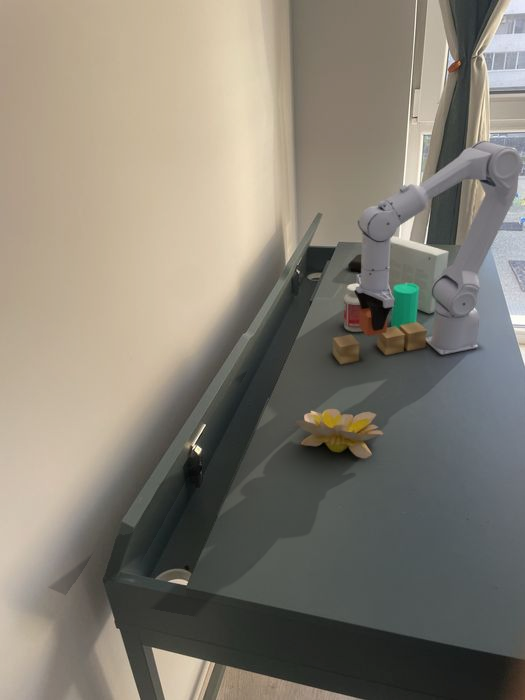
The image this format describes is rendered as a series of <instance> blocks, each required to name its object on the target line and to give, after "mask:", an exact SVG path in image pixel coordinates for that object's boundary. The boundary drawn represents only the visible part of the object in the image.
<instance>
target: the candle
mask: <svg viewBox="0 0 525 700" xmlns="http://www.w3.org/2000/svg"><path fill="white" fill-rule="evenodd" d="M418 294H419V287H418V286H417V285H415V284H411V283H407V282H406V283H405V284H401V285H395V286H394V288H393V297H394V301H395V305H394V307H393V308H392V309H391V320H390V321H391V322H390V327H394V326H396V327H397V328H398V329H399V328H400V325H404V324H409V323H415V322H417V319H418V318H417V317H418V309H417V306H418Z"/></svg>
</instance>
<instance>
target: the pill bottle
mask: <svg viewBox="0 0 525 700" xmlns="http://www.w3.org/2000/svg"><path fill="white" fill-rule="evenodd" d="M356 287H359V284H358V283H356V282H355V283H350V284H348V285H347V286H346V294H345V295H344V297H343V327H344V329H346V331H348V332H352V333H360V332H363V331H362V330H361V329H360V328H359V315H360V309H361V306H360V303H359V300H358V298H357V296H356V294H355V290H356Z"/></svg>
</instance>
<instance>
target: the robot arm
mask: <svg viewBox="0 0 525 700" xmlns="http://www.w3.org/2000/svg"><path fill="white" fill-rule="evenodd" d="M522 159H523V158H522V157H521V154H520V152H519V151H518V150H517V149H516V148H515V147H512V146H506V145H501V144H498V143H493V142H491V141H488V140H480V141H477V142H475V143H474V144H473V145H472V146H470V147H468V148H465V149H464V150H462V152H461V153H460V154H459V156H457V157H456V158H455V159H453V160H452V161H451V162H449V163H448V164H447V165H445V166H444V167H443V168H441V169H439V171H437V172H436V173H434V174H433V175H431V176H430V177H429V178H427V179H426V180H424V181H423V182H422V183H421V184H419V185H417V184H408V185H406V184H403V185H402V186H399V191H397V192H396V193H395V194H393V195H391V196H390V197H388V198H387V199H385V200H381V201H378V206H377V205H374V206H373V205H371V206H369V207H367V208H366V209H364V210H363V211H362V214H360V216H359V219H358V220H357V227H358V228H359V230H360V231H361V232H362V233H361V254H362V256H361V271H360V273H359V274H356V280H355V281H356V282H355V283H358V284H359V287H356V290H355V294H356V296H357V298H358V300H359V303H360V306H361V309H365V308H369V309H370V312H371V318H372V327H373V330H374V331H376V330H381V329H383V327H384V325H385V322H386V319H387V320H388V316H389V314H390V312H391V311H392V308H393V307H394V305H395V301H394V297H393V296H392V294H391V291H390V287H389V284H388V282H389V261H390V239H391V237H392V236H395V234H396V232H397V229H398V228H399V227H400V226H402V225H403V224H405V223H406V222H408V221H409V220H411V219H412V218H414V217H416V215H419V214H420V213H421V212H423V211H425V210H426V208H427V206H428V202H429V200H432V199H433V198H434V197H436V196H438V195H440V194H442V193H444V192H445V191H447V190H449V189H450V188H452V187H454V186H456V185H458V184H459V183H461V182H463V181H465V180H477V181H479V183H480V185H481V187H482V190H483V192H484V196H483V199H482V200H481V203H480V205H479V207H478V209H477V212H476V214H475V216H474V218H473V220H472V222H471V224H470V227H469V229H468V231H467V233H466V235H465V237H464V239H463V242H462V244H461V245H460V249H459V250H458V253H457V255H456V257H455V260H454V261H453V262H452V265H451V264H450V266H447V268H445V269H444V270H443V272H442V274H441V276H440V277H439V278H438V279H437V280H436V281H435V282H434V283H433V285H432V288H431V294H432V297H433V298H434V299H435V312H433V321H432V322H433V323H432V333H431V336H426V343H427V345H429V346H430V347H431V348H433V350H435V351H436V352H437V353H438V354H439V355H440V356H445V355H449V354H453V353H459V352H463V351H468V350H469V351H470V350H475V349H478V348H479V345H478V344H477V341H478V336H479V335H478V334H479V328H480V314H479V312H478V310H477V309H476V305H477V302H478V294H479V291H480V289H481V285H480V281H479V277H478V275H479V272H480V270H481V267H482V266H483V264H484V261H485V259H486V258H487V256H488V254H489V251H490V250H491V247H492V245H493V243H494V241H495V239H496V237H497V235H498V234H499V232H500V229H501V227H502V224H503V223H504V221H505V218H506V217H507V215H508V213H509V211H510V209H511V206H512V205H513V202H514V200H515V198H516V196H517V193H518V187H519V176H520V173H521V172H522V170H523V168H524V165H525V164H524V161H523V160H522Z"/></svg>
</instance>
